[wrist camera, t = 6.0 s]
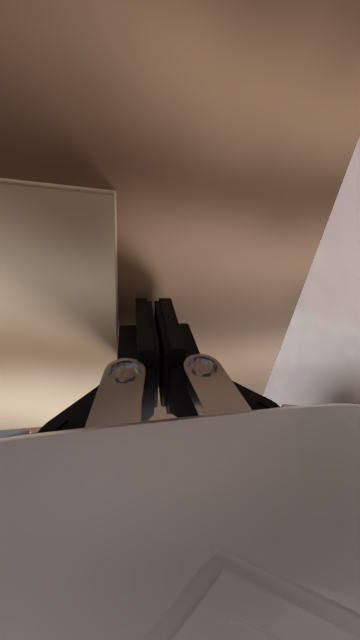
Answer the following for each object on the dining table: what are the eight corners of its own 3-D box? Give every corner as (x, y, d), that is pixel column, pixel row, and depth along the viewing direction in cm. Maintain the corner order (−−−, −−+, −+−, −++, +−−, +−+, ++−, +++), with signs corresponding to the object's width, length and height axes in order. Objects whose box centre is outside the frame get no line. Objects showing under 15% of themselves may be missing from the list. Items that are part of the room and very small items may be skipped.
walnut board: (-114, -80, 7) (-243, -209, 5) (345, 31, 10) (414, -13, 8) (46, 426, 20) (34, 464, 17) (233, 409, 23) (246, 439, 20)
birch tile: (-148, 161, 8) (-224, 160, 6) (115, 190, 9) (112, 196, 8) (-31, 400, 13) (-54, 434, 12) (120, 392, 15) (118, 420, 13)
